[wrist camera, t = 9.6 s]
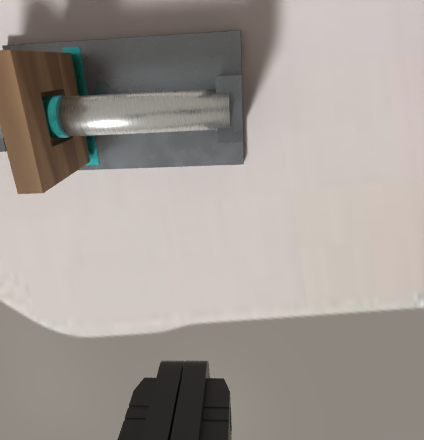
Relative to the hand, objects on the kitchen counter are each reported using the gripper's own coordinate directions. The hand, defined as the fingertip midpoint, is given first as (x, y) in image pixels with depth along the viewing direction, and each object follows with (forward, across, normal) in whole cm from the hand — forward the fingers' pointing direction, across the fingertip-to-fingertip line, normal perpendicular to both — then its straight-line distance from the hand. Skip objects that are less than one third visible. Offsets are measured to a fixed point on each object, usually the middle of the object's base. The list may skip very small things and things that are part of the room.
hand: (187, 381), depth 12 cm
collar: (+28, +14, -6) cm, 32 cm away
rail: (+29, +9, -6) cm, 31 cm away
